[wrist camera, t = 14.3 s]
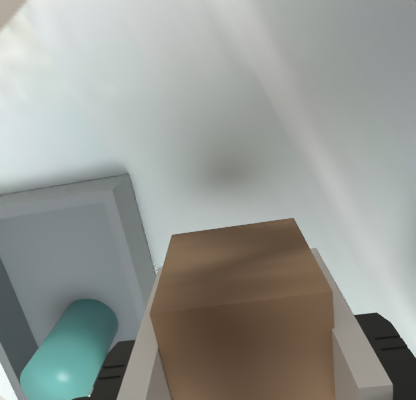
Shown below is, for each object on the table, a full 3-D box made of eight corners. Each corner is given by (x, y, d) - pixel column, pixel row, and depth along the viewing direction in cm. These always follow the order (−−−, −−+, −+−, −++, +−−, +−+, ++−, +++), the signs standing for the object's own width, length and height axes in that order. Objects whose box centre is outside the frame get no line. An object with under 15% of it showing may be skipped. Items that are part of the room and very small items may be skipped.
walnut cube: (293, 218, 14) (332, 291, 9) (302, 318, 15) (339, 425, 11) (172, 235, 14) (149, 313, 9) (193, 331, 16) (183, 439, 11)
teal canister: (109, 295, 30) (76, 355, 24) (124, 341, 32) (96, 409, 25) (56, 302, 31) (9, 363, 24) (73, 346, 32) (33, 415, 26)
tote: (129, 174, 27) (112, 189, 23) (175, 351, 32) (168, 387, 29) (-28, 199, 28) (-68, 218, 25) (42, 364, 34) (18, 401, 30)
